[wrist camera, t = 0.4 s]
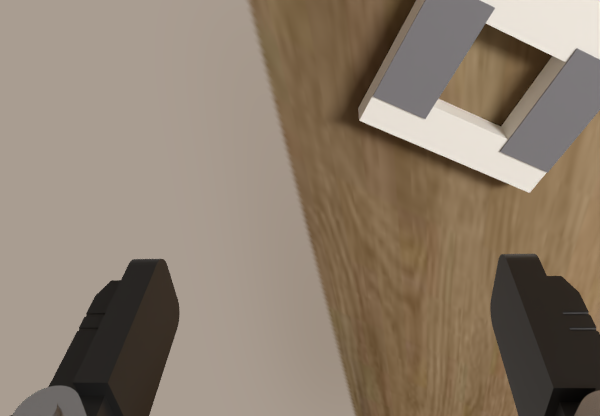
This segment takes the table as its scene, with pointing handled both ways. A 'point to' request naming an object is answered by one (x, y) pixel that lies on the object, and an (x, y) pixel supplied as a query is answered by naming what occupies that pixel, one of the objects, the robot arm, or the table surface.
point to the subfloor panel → (530, 109)
